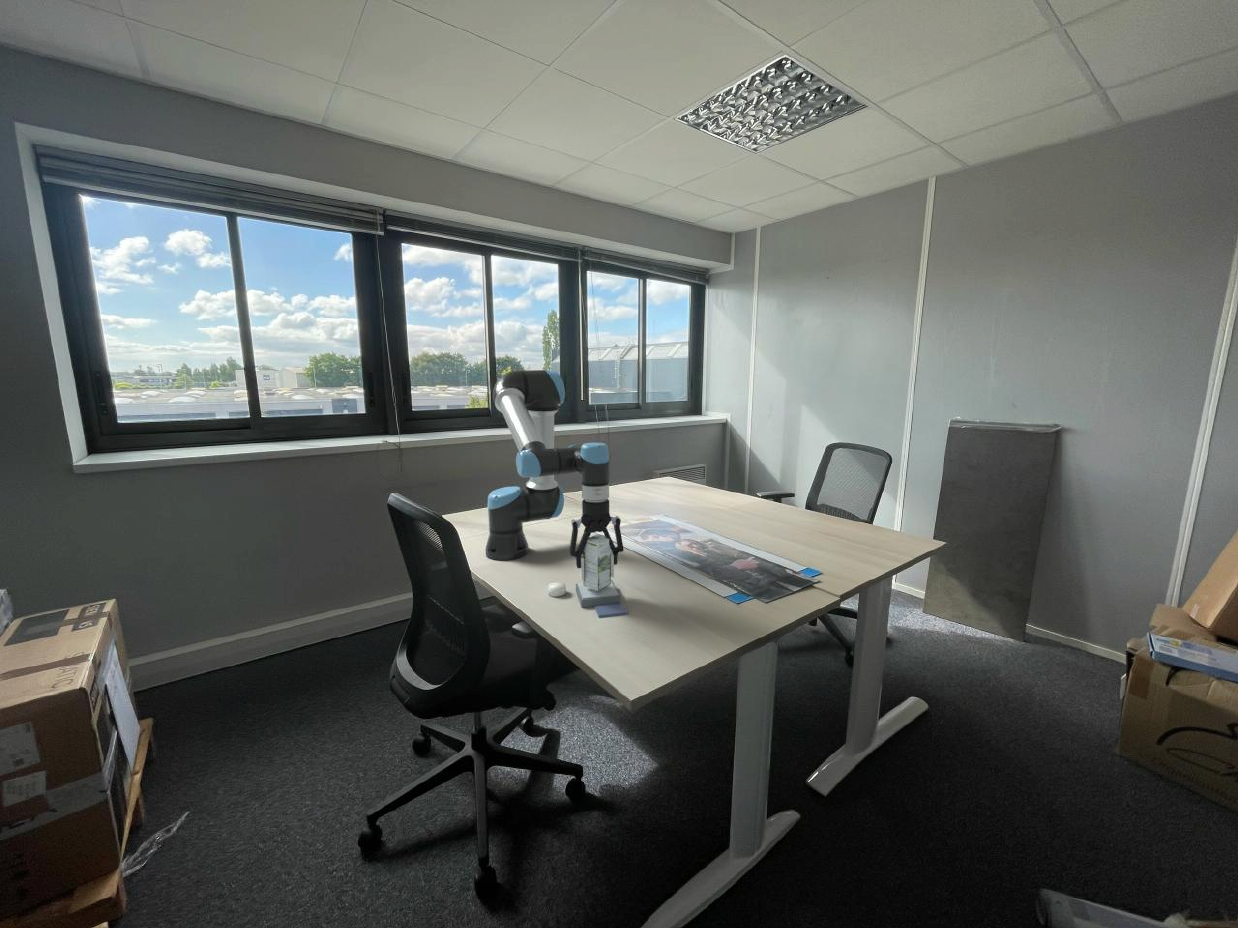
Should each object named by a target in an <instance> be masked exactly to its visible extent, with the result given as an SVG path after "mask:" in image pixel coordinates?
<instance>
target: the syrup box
mask: <svg viewBox="0 0 1238 928" xmlns="http://www.w3.org/2000/svg"><path fill="white" fill-rule="evenodd" d="M611 552H612V550H611V547H610V545H609V539H607V538H606V537H605V535H604V534H600V533H594V534H592V535H590V536H589V538H588V541H587V543H586V546H585V548H584V551H583V553H582V555H583V557H584V580H582V581H583V582H582V583H584V586H585V587H588V588H590V589H593V590H596V591H599V590H601V589H603V588H605V587H607V586H609V585H611V580H612V577H611Z"/></svg>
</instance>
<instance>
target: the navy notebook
mask: <svg viewBox="0 0 1238 928" xmlns="http://www.w3.org/2000/svg"><path fill="white" fill-rule="evenodd" d="M594 609H595V613H596V615H597V617H598V618H607V617H615V616H623V615H629V611H628V609H627V607H626V605H625V603H618V604H609V605H601V606H594Z"/></svg>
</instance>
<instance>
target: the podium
mask: <svg viewBox="0 0 1238 928" xmlns="http://www.w3.org/2000/svg"><path fill="white" fill-rule="evenodd" d="M575 592H576V595H577V598H578V602H579V603H580V605H579V606H580V607H581V608H590V607H591V608H592V607H597V606H605V605H613V604H622V603H621V602H622V601H621V598H622V597H621V594H620V592H619V590H618V588H617V586H616V585H615V583H614V581H613V579H611V585H609V586H607V587H605V588H603V589H601V590H599V591H596V590H593V589H590V588H588V587H585V586H584V583H583V582H577V583H575Z"/></svg>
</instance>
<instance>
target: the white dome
mask: <svg viewBox="0 0 1238 928" xmlns="http://www.w3.org/2000/svg"><path fill="white" fill-rule="evenodd" d="M547 588H548V589H547V590H548V595H549V596H550V597H554V598H555V597H557V598H558V597H562V596H565V595H566V594H567V588H566V583H565V582H564V581H563V582H562V581H554V582H551V583H549V584H547Z"/></svg>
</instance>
